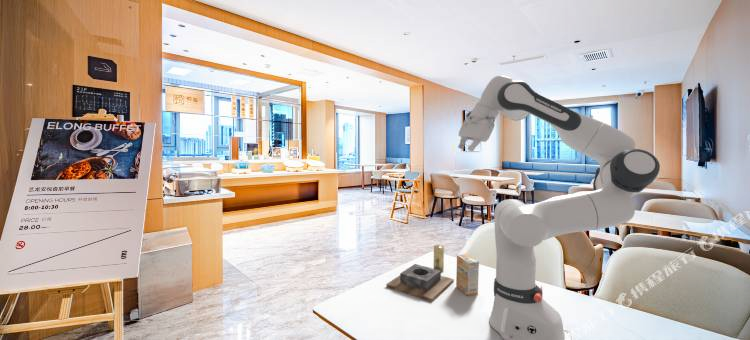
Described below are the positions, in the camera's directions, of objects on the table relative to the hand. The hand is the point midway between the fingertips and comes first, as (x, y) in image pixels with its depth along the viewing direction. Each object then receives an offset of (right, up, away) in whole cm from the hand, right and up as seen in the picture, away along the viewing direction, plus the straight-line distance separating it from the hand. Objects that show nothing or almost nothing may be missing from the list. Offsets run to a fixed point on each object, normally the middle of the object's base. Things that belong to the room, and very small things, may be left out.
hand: (464, 149), depth 116 cm
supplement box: (+2, -55, +3) cm, 55 cm away
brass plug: (-6, -53, +21) cm, 58 cm away
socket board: (-16, -55, +8) cm, 57 cm away
